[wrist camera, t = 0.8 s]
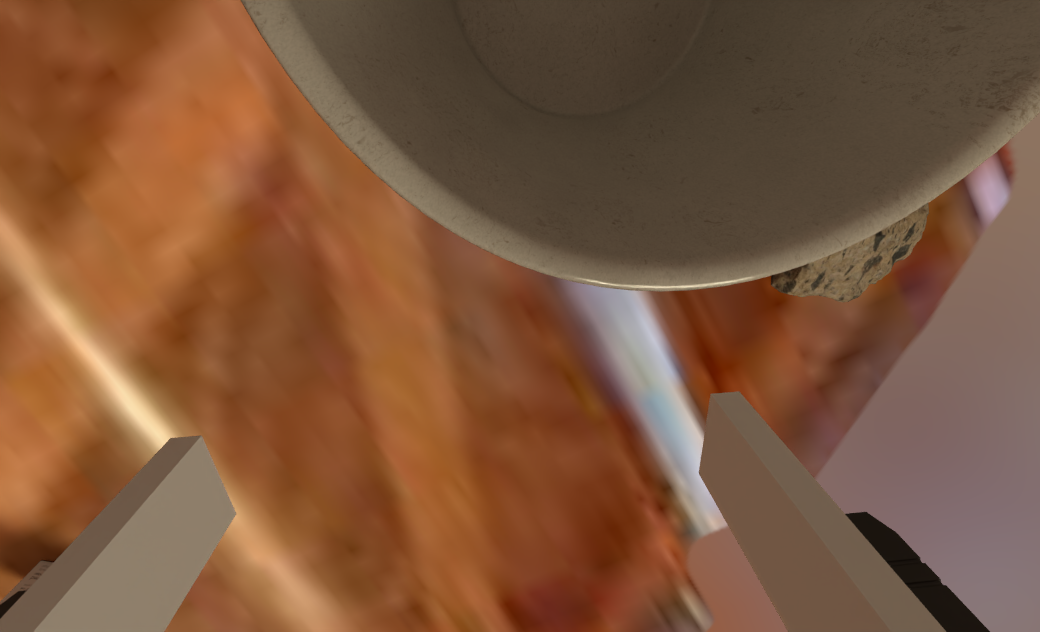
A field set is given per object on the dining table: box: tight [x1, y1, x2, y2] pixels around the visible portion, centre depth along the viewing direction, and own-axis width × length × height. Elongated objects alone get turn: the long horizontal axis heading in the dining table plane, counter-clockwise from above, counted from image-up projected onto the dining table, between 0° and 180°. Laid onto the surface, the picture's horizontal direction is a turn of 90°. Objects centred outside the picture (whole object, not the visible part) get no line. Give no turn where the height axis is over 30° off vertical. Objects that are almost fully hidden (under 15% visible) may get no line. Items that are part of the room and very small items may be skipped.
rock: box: [771, 203, 929, 302], centre depth 36 cm, size 11×12×4 cm
